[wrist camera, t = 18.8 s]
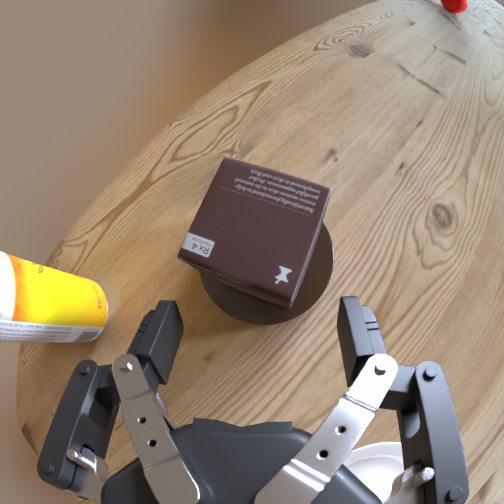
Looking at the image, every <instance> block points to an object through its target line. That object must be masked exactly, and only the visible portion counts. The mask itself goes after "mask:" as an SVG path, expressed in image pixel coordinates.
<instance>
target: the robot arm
mask: <svg viewBox="0 0 504 504" xmlns="http://www.w3.org/2000/svg"><path fill="white" fill-rule="evenodd" d="M140 325H141V326H139V328H138V330H137V331H138V332H137V333H136V335H135V337H134V339H133V341H132V343H131V345H130V347H129V349H128V352H127V354H124V355H121V356H119V357H118V358H117V359H116V360H115V361H114V362H113V364H110V365H103V366H98V365H97V364H96V362H95V361H93V360H90V359H87V360H83V361H81V362H80V363H79V364H78V365H77V366H76V367H75V369H74V371H73V374H72V376H71V378H70V380H69V382H68V385H67V387H66V389H65V391H64V394H63V396H62V398H61V401H60V403H59V406H58V408H57V410H56V413H55V415H54V418H53V421H52V423H51V426H50V428H49V431H48V434H47V437H46V439H45V442H44V445H43V448H42V451H41V454H40V457H39V460H38V464H37V470H38V474H39V476H40V478H41V479H42V480H44V481H45V482H47V483H49V484H51V485H53V486H55V487H56V488H58V489H60V490H62V491H64V492H66V493H69V494H71V495H74V496H77V497H80V498H82V499H85V500H89V499H90V500H92V501H95V502H98V503H100V504H464V503H465V502H466V500H467V498H468V495H469V481H468V473H467V466H466V460H465V454H464V448H463V443H462V438H461V434H460V429H459V425H458V421H457V417H456V413H455V409H454V405H453V401H452V398H451V394H450V391H449V388H448V384H447V381H446V378H445V375H444V372H443V369H442V368H441V366H440V365H439V364H437V363H436V362H434V361H423V362H421V363H420V364H418V366H417V367H408V366H402V365H399V364H397V363H396V362H395V361H394V359H393V358H391V357H390V356H388V354H387V351H386V347H385V344H384V341H383V338H382V335H381V332H380V330H379V326H378V323H377V320H376V318H375V315H374V312H373V311H372V310H371V309H370V308H369V307H368V306H360V304H359V301H358V298H357V296H345V297H341V298H340V304H339V311H338V318H337V331H338V336H339V342H340V347H341V352H342V358H343V363H344V369H345V375H346V381H347V387H350V389H349V390H348V392H347V393H346V394H345V395H343V396H342V397H341V398H340V400H339V401H338V402H337V404H336V405H335V407H334V408H333V409H332V411H331V412H330V413H329V415H328V416H327V417H326V419H325V420H324V421H323V423H322V424H321V425H320V426H319V428H318V429H317V430H316V432H315V433H314V434H313V435H312V434H310V433H308V432H306V431H304V430H301V429H298V428H293V427H292V422H265V423H260V424H255V425H250V426H245V427H239V426H235V425H232V424H228V423H225V422H222V421H219V420H212V419H201V418H194V420H193V424H188V425H184V426H181V427H179V428H177V427H176V425H175V424H174V422H173V420H172V419H171V417H170V415H169V413H168V411H167V409H166V407H165V405H164V403H163V401H162V399H161V397H160V395H159V393H158V391H157V387H158V384H163V385H166V384H167V381H168V378H169V375H170V372H171V369H172V365H173V362H174V359H175V356H176V353H177V350H178V347H179V344H180V341H181V338H182V335H183V329H184V327H183V321H182V318H181V315H180V312H179V310H178V307H177V304H176V302H175V301H174V300H160V301H159V302H158V305H157V307H156V309H155V310H151V311H150V312H149V313H147V314H146V315H145V316H144V318H143V320H142V322H141V324H140ZM93 399H94V400H93ZM92 401H93V403H92ZM91 404H92V406H91ZM90 407H91V408H90ZM119 407H120V410H121V413H122V416H123V419H124V422H125V424H126V427H127V430H128V432H129V435H130V438H131V440H132V442H133V445H134V447H135V450H136V452H137V454H138V458H136V459H135V460H134V461H132V462H131V463H129V464H128V465H127V466H125V467H124V468H123V469H121V470H120V471H118V472H117V473H115V474H114V475H113V476H111V477H110V478H109V476H110V473H109V471H108V465H107V463H106V461H105V456H106V452H107V448H108V444H109V441H110V437H111V434H112V430H113V427H114V423H115V420H116V417H117V413H118V410H119ZM378 408H382V409H390V410H396V411H397V417H398V424H399V431H400V438H401V446H402V456H403V466H404V472H402V473H401V474H399V475H398V476H397V477H396V478H395V479H394V481H393V483H392V488H391V493H390V495H389V497H388V498H387V499H386V500H385V501H384V502H382V501H381V500H380V498H379V497H378V496H377V495H376V494H375V493H374V492H373V491H371V490H370V489H369V488H368V487H367V486H366V485H365V484H364V483H363V482H362V481H361V480H359V479H358V478H357V477H356V476H355V475H354V474H353V473H352V472H351V471H350V470H349V469H348V468H347V467H346V466H345V465H344V464H343V462H344V461H345V459H346V458H347V456H348V455H349V454H350V452H351V451H352V449H353V448H354V446H355V445H356V443H357V442H358V440H359V439H360V437H361V436H362V434H363V433H364V431H365V429H366V428H367V426H368V425H369V423H370V421H371V420H372V418H373V416H374V415H375V413H376V411H377V409H378ZM89 410H90V411H89Z"/></svg>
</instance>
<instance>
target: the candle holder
mask: <svg viewBox="0 0 504 504" xmlns="http://www.w3.org/2000/svg"><path fill="white" fill-rule="evenodd" d="M343 464H344V465H345V466H346V467H347V468H348V469H349V470H350V471H351V472H352V473H353V474H354V475H355V476H356V477H357V478H358V479H359V480H361V481H362V482H363V483H364V484H365V485H366V486H367V487H368V488H369V489H370V490H371V491H373V492H374V493H375V494H376V495H377V496H378V497H379V498H380V500H381V501H382V502H384V501H385V500H386V499H387V498H388V497H389V495H390V493H391V488H392V483H393V481H394V479H395V478H396V477H397V476H398V475H399V474H401V473H402V472H404V466H403V456H402V446H401V443H398V442H384V443H377V444H372V445H368V446H364V447H361V448H358V449H356V450H353V451H351V452H350V454H349V455H348V456H347V458H346V459H345V461H344V462H343Z"/></svg>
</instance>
